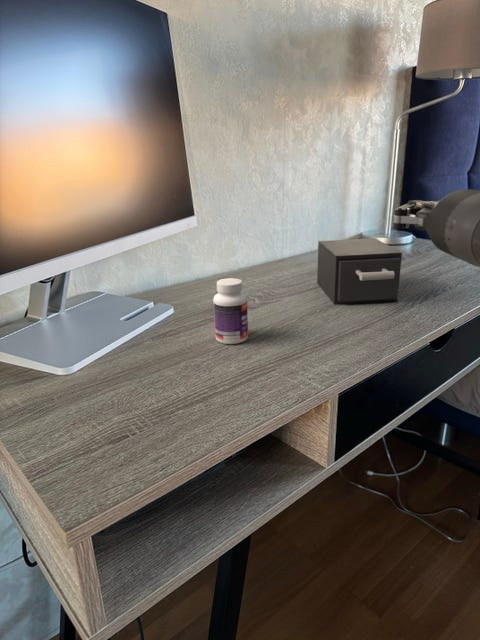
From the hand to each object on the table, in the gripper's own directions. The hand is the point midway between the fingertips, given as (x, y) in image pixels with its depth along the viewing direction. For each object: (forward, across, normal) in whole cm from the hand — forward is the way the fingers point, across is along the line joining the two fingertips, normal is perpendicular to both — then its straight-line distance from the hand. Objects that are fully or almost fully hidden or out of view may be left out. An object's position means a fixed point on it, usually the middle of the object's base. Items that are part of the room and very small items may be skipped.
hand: (412, 207), depth 64 cm
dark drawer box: (+20, 0, -19) cm, 28 cm away
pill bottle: (+3, -27, -20) cm, 34 cm away
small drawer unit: (+24, 0, -20) cm, 31 cm away
